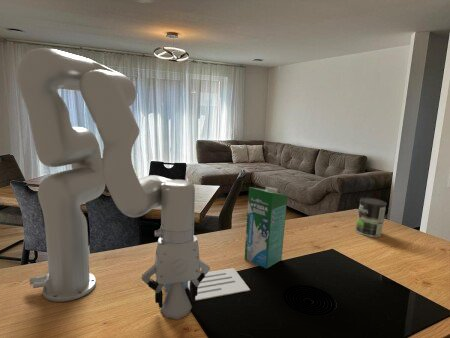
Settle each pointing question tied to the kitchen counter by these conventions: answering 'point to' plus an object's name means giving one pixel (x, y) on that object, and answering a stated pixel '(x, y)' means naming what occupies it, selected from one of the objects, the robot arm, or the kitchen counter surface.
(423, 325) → the kitchen counter surface
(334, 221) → the kitchen counter surface
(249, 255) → the milk carton
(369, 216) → the coffee can
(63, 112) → the robot arm
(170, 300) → the flask
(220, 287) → the letter
